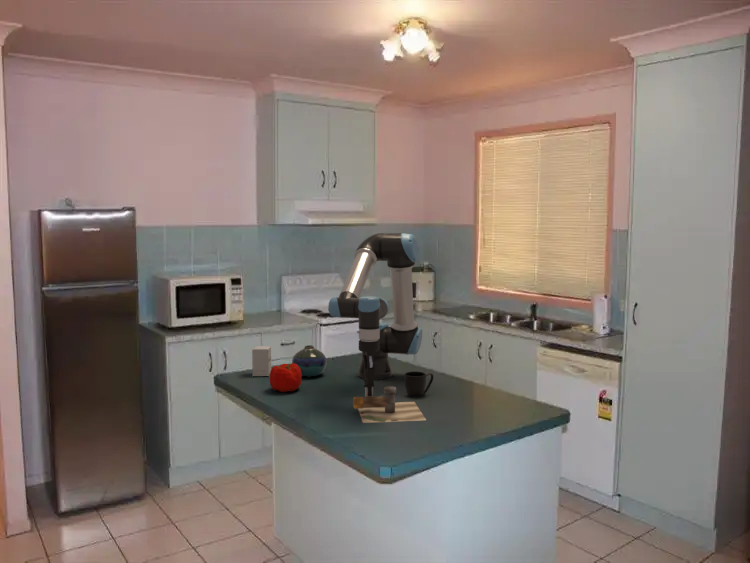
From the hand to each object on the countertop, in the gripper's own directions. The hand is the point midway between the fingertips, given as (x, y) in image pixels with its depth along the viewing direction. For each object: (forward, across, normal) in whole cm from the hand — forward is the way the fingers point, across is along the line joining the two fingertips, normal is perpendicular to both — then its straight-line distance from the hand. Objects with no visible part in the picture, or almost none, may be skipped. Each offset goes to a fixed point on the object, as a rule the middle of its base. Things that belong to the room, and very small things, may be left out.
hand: (369, 403), depth 232 cm
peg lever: (+2, +4, +2) cm, 4 cm away
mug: (+3, -17, +22) cm, 28 cm away
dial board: (+3, +4, +7) cm, 9 cm away
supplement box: (+3, -60, -41) cm, 73 cm away
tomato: (+4, -34, -30) cm, 46 cm away
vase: (+3, -57, -20) cm, 61 cm away
